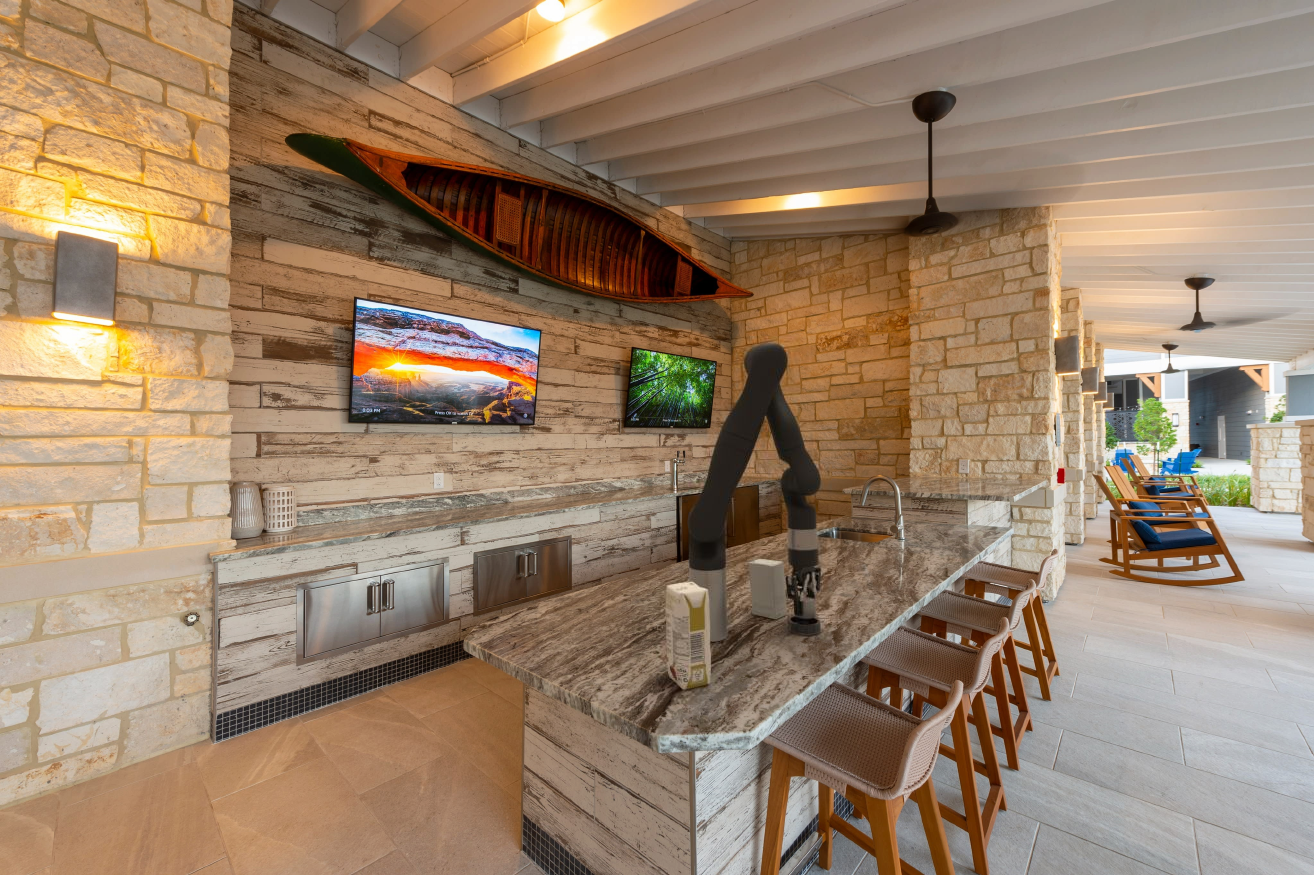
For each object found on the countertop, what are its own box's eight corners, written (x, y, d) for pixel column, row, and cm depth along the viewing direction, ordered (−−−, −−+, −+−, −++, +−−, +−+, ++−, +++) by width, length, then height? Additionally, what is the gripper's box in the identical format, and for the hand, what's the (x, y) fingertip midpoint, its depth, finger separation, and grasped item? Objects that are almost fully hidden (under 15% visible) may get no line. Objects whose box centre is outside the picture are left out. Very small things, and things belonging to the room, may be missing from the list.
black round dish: (796, 637, 129) (795, 626, 129) (783, 626, 136) (783, 616, 136) (825, 634, 130) (825, 624, 130) (812, 624, 138) (811, 614, 138)
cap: (808, 620, 129) (808, 603, 129) (790, 616, 133) (789, 599, 133) (820, 614, 133) (819, 598, 133) (801, 610, 137) (801, 594, 137)
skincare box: (787, 615, 145) (786, 561, 145) (775, 620, 141) (773, 565, 141) (762, 609, 151) (760, 557, 151) (749, 614, 147) (748, 560, 147)
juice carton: (681, 693, 101) (679, 594, 102) (663, 675, 109) (661, 584, 109) (715, 685, 104) (713, 589, 105) (695, 668, 112) (693, 579, 112)
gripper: (801, 552, 125) (803, 623, 125) (830, 543, 136) (832, 608, 135) (774, 548, 131) (776, 616, 131) (803, 539, 141) (805, 602, 141)
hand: (805, 612), depth 133 cm, fingers closed on cap, 5 cm apart
